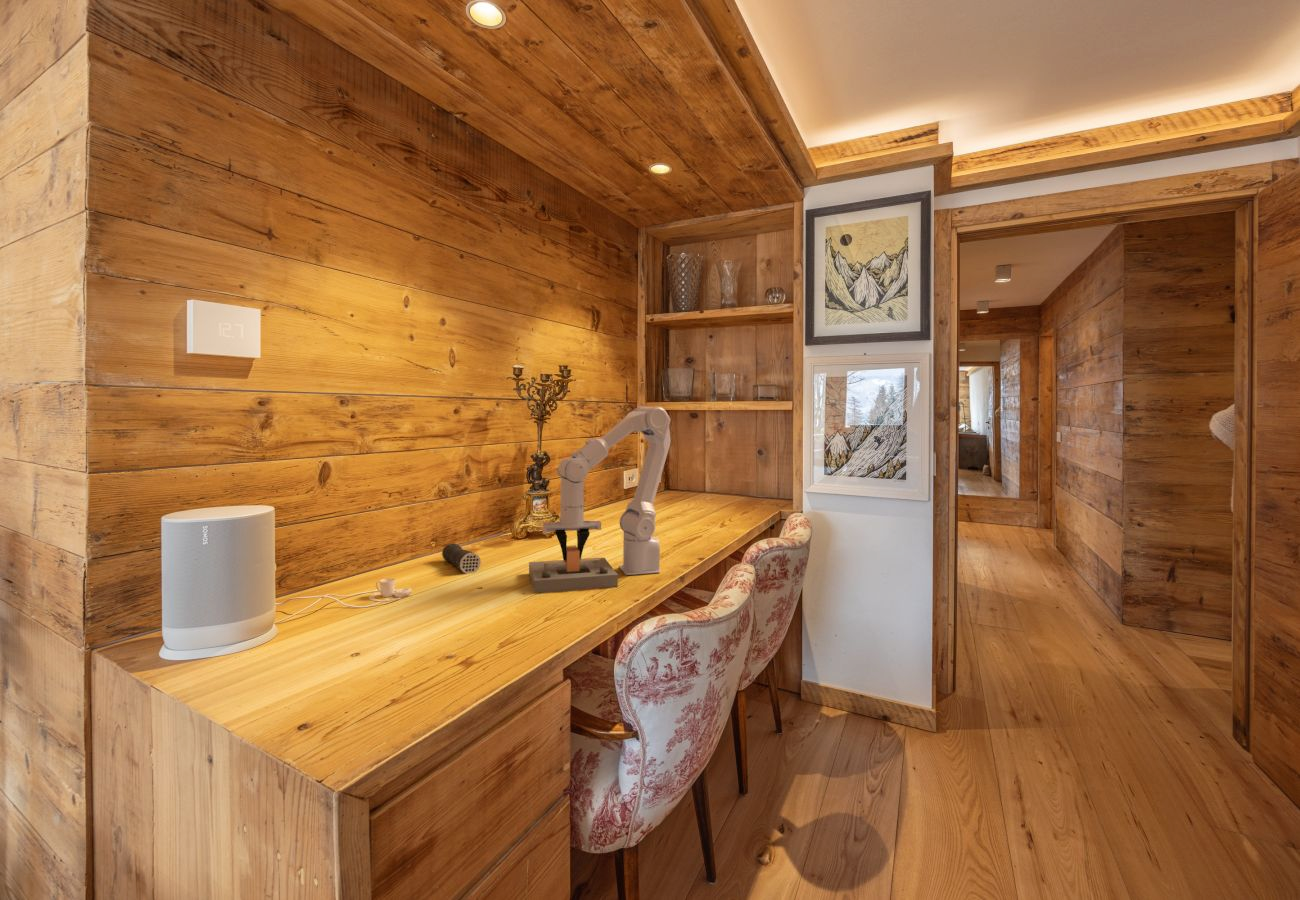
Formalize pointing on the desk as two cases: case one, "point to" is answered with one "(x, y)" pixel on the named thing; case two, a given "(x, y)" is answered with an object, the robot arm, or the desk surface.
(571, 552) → the orange rectangular block
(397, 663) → the desk surface
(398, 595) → the teacup and saucer
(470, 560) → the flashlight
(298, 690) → the desk surface
